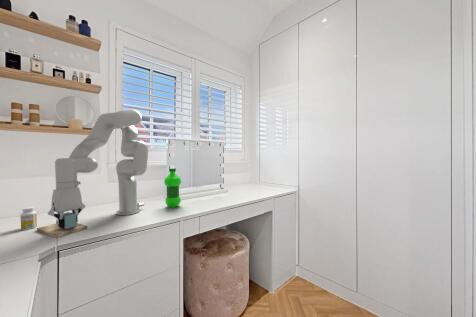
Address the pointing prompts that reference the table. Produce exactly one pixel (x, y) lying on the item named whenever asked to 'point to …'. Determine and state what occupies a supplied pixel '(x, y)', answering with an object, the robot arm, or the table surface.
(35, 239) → the table surface
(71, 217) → the block
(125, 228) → the table surface
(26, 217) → the supplement bottle
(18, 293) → the table surface
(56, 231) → the board
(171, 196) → the plastic bottle
